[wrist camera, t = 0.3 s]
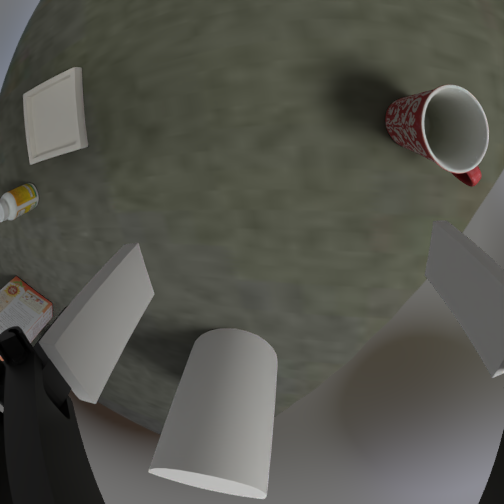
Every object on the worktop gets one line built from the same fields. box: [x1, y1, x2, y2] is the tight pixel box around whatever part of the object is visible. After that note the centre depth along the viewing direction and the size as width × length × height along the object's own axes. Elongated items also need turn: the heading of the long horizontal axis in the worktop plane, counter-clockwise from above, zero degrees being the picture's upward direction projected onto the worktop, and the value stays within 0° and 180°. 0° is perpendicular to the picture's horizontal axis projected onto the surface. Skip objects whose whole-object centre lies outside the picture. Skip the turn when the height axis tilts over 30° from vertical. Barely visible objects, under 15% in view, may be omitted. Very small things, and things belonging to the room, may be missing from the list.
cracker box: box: [0, 276, 52, 361], centre depth 46 cm, size 14×6×21 cm, turn 62°
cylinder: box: [148, 328, 277, 499], centre depth 42 cm, size 17×17×28 cm
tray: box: [23, 67, 88, 165], centre depth 35 cm, size 14×14×2 cm
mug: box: [385, 85, 489, 186], centre depth 26 cm, size 13×9×14 cm
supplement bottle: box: [0, 183, 39, 222], centre depth 38 cm, size 5×5×10 cm
